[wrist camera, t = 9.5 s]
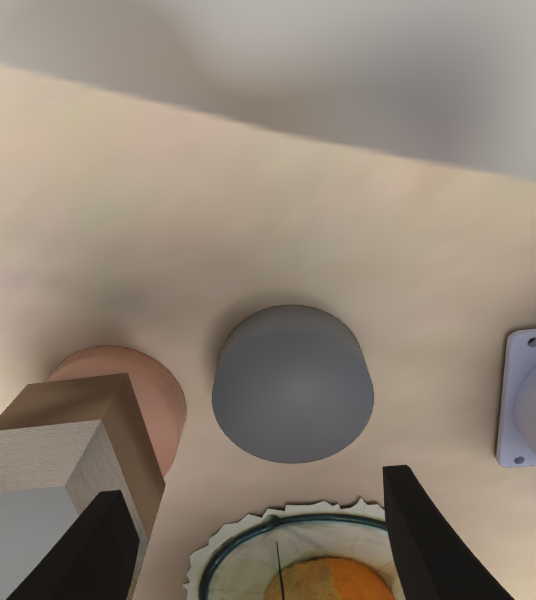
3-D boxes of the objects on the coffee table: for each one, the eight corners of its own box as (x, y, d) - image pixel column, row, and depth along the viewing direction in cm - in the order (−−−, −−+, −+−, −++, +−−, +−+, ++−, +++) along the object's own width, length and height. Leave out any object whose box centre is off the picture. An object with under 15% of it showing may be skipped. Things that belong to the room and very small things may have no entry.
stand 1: (168, 338, 21) (155, 367, 18) (199, 451, 24) (190, 488, 21) (28, 354, 21) (-2, 384, 19) (74, 463, 24) (53, 500, 22)
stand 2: (359, 296, 20) (370, 321, 17) (367, 420, 22) (377, 456, 20) (206, 314, 20) (196, 341, 18) (232, 433, 23) (227, 469, 21)
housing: (127, 372, 19) (64, 485, 13) (165, 484, 21) (126, 617, 16) (27, 384, 19) (-75, 499, 13) (77, 493, 22) (8, 626, 16)
